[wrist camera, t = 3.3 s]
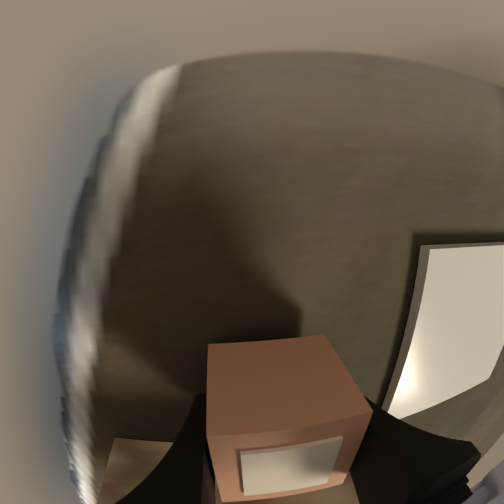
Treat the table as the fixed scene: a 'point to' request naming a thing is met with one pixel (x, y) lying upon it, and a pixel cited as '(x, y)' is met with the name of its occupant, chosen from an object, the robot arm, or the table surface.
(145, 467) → the wooden board
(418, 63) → the table surface
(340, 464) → the letter block
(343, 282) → the table surface
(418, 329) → the tile
